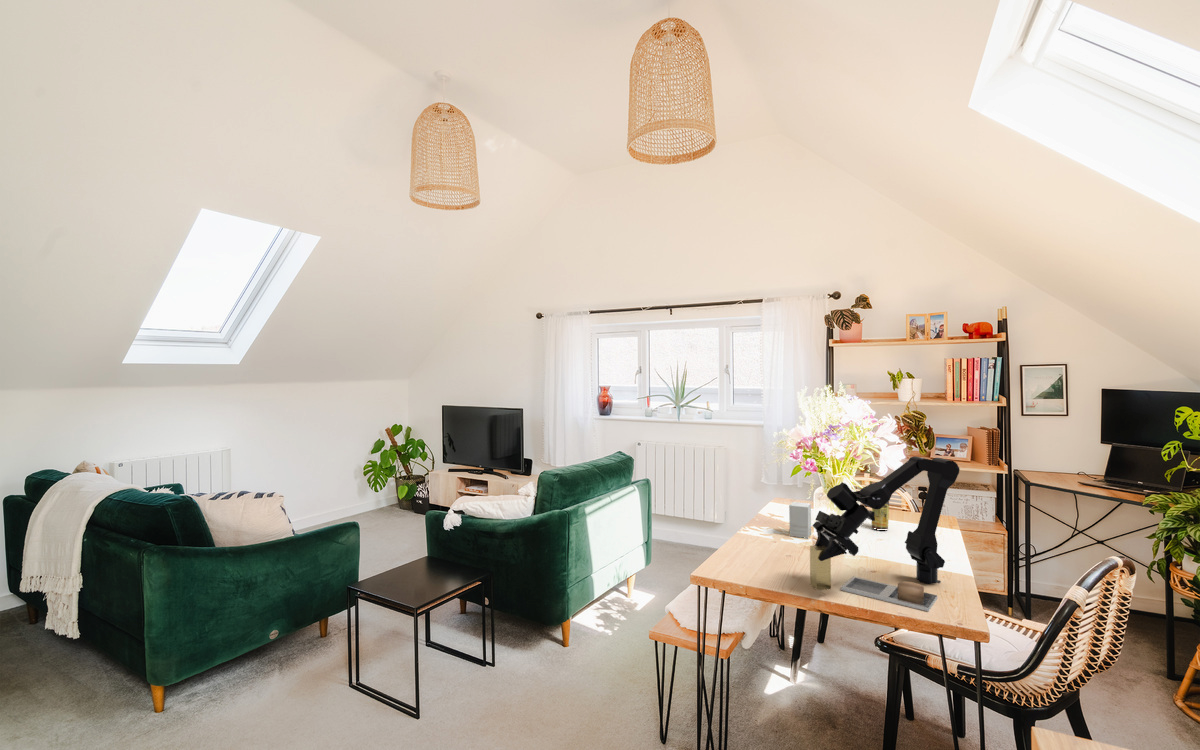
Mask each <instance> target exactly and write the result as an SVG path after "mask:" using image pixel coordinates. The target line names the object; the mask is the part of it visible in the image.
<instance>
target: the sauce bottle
mask: <svg viewBox="0 0 1200 750" xmlns="http://www.w3.org/2000/svg"><path fill="white" fill-rule="evenodd" d="M877 482H878V481H876V482H875V483H877ZM871 509H872V510H871V511H873V512H874V517H875V521H872V520H871V528H872V527H873V528H876V529H888V528H889V515H890V513H889V512H890V500H889V501H888V502H887V503H886V504H885V505H884V507H882V508H881V509H878V510H877V509H873V508H871Z"/></svg>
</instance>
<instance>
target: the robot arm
mask: <svg viewBox="0 0 1200 750" xmlns="http://www.w3.org/2000/svg"><path fill="white" fill-rule="evenodd" d="M960 469H961V468H960V466H959V464H958V463H957V462H956V461H954V460H951V459H946V458H941V457H934V458H932V459H929V458H925V457H920V456H916V455H915V456H911V457H910V458H908V460H907V461H906V462H905V463H903V464H902V465H901V466H899V467H898V468H896V469H895V470H894V471H893V472H891V473H890V474H888V475H887V476H885V477H884V478H882V480H879V481H876V482H877V483H876V482H873V483H870V484H868V485H865V486H864V487H862V488H861V489H859V490H857V491H853V490H852V489H851V488H850V487H849V486H848V485H847V483H845V482H841V483H839V484H837V485H835V486H833V487H831V488H830V489H829V490H828V491H827V494H826V496H827V498H828V500H830V502H832V503H833V504H834V505H835V506H836V507H837V509H838V510H839V511H842V512H843V511H844V512H843V513H842V514H841V515H839V514H837V515H836V514H835V513H830V514H828V513H826V512H823V511H822V510H819V511H818V513H817V514H816V518H815V522H814V523H813V524H811V527H813V528H814V529H815V531H816V533H817V539H816V542H815V544H814V546H825V547H826V549H825V550H824V551H823V552H822V554H821V555H820V557H819V558H818V559H819V560H820V561H823V560H826V559H829V558H831V559H832V558H834V557H838V556H841V555H844V554H845V555H847V554H849V555H852V556H853V557H855V556H856V555H857V554H858V553H859V546H857V544H856V543H855V542H854V541H853V540H852V539H851V538H850V537H851V536H852V535H853V534H855V535H857V534H858V533H859V530H858V529H859V528H860V527H861V525H862V524H863V523H864V522H866V520H867V519H868V520H870V521H871V522H872V521H875V517H874V512H873V511H872V510H869V509H868V508H870V509H872V508H873V509H877V510H878V509H881V508H882V507H884V505H885V504H886V503H887V502H888V501H889V502H890V500H891V498H892V496H893V494H894V493H895V492H896V491H898V490H899V489H900V488H901V487H903V486H904V485H906V484H907V483H908V482H910V481H911V480H913V479H914V478H915V477H917V476H918V475H919V474H921V472H926V473H927V478H928V479H927V480H928V484H929V485H928V488H927V492H926V497H925V500H924V502H923V507H922V511H921V514H920V516H919V517H920V518H919V521H918V525H917V526H916V529H914V531H910V530H908V532H907V535H906V540H905V541H904V544H905V549H906V551H907V553H908V554H909V555H910V558H911V560H914V561H916V577H915V579H916V580H917V581H918V583H919V584H926V585H932V584H941V582H942V581H941V580H940V579H939V578H938V577H939V576H938V575H939V574H938V572H939V570H938V569H939V568H942V569H943V568H944V566H945V563H946V561H945V559H944V558H942V556H941V555H940V554H939V553H938V541H937V536H936V532H937V528H938V525H939V522H940V517H941V514H942V510H943V507H944V503H945V499H946V494H947V492H948V489H949V488H951V486H952V485H954V484H955V482H956V480H957V478H958V477H959V474H960ZM859 503H861V504H859ZM867 507H868V508H867ZM847 551H848V552H847ZM938 579H939V580H938Z"/></svg>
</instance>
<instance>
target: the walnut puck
mask: <svg viewBox="0 0 1200 750" xmlns="http://www.w3.org/2000/svg"><path fill="white" fill-rule="evenodd" d="M897 586H898V599H899V600H903V601H907V602H911V603H915V604H923V603H924V592H925V588H924V586H923V585H922V584H921V583H917V582H913V581H899V582H897Z"/></svg>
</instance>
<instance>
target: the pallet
mask: <svg viewBox="0 0 1200 750" xmlns="http://www.w3.org/2000/svg"><path fill="white" fill-rule="evenodd" d="M840 591H843V592H844V593H845V592H846V593H849V594H854V595H858V596H862V597H867V598H870V599H874V600H877V601H883V602H887V603H892V604H893V605H894V604H895V605H899V606H904V607H905V608H907V607H908V608H911V609H915V610H918V611H924V612H930V610H931V609H932V607H933V606H934V605H935V603H936V601H937V600H938V594H933V593H929V592H925V591H924V603H923V604H915V603H911V602H907V601H903V600H899V599H898V585H893V584H889V583H884V582H880V581H875V580H871V579H867V578H862V577H859V576H858V577H857V576H851V577H850V578H849V579H848V580H847V581H846V582H844V584H842V585H841V586H840Z"/></svg>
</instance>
